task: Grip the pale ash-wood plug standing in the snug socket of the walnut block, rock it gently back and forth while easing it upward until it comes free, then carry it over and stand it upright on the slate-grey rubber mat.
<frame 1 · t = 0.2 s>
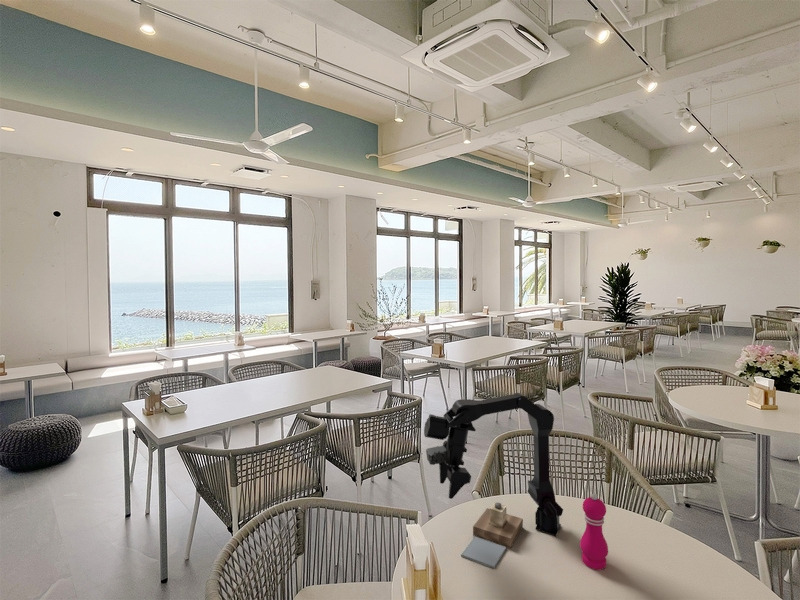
hand: (445, 490, 132), 15 cm above the table, tool pointing down, fingers open, 9 cm apart
pepper mill: (593, 563, 120), on the table
mat: (483, 552, 126), on the table
socket block: (498, 531, 136), on the table
plug: (498, 517, 135), in the socket block
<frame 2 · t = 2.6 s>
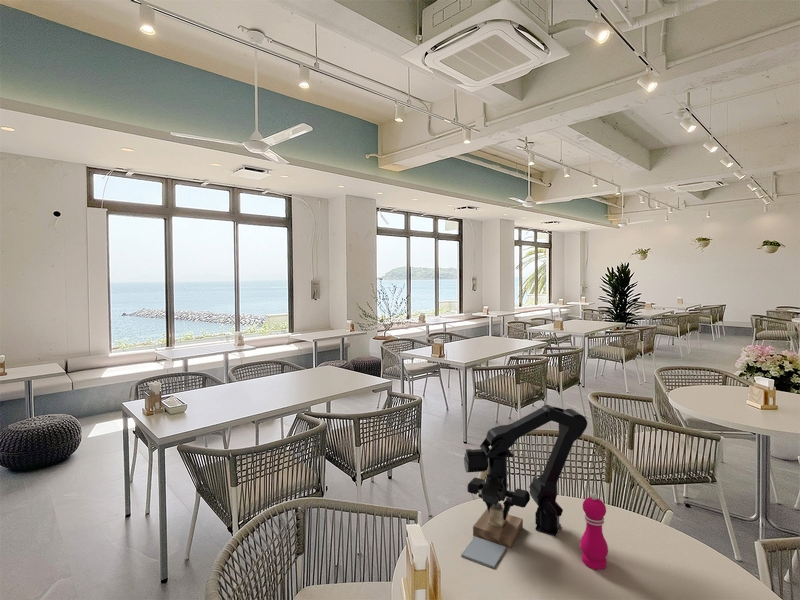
hand: (498, 517, 135), 5 cm above the table, tool pointing down, fingers closed on plug, 4 cm apart
plug: (498, 517, 135), in the socket block, touching gripper
everything else where it was.
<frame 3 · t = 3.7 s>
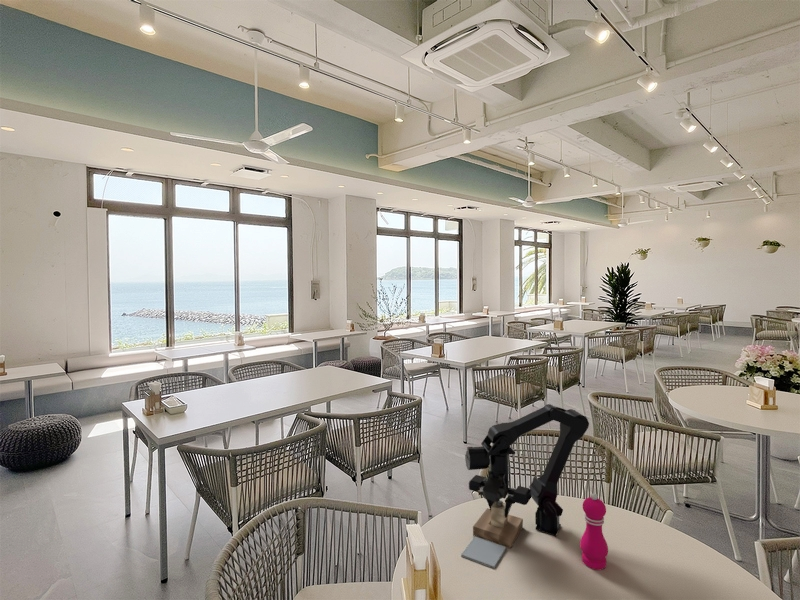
hand: (499, 515, 135), 6 cm above the table, tool pointing down, fingers closed on plug, 4 cm apart
plug: (499, 515, 135), in the socket block, point 5 cm above the table, touching gripper
everything else where it was.
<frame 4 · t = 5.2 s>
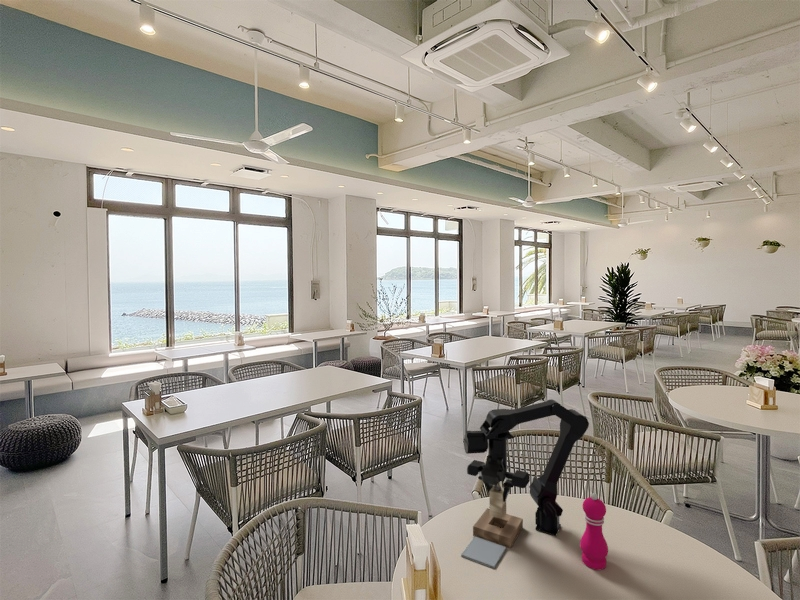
hand: (497, 499, 135), 10 cm above the table, tool pointing down, fingers closed on plug, 4 cm apart
plug: (497, 500, 135), point 10 cm above the table, touching gripper
everything else where it was.
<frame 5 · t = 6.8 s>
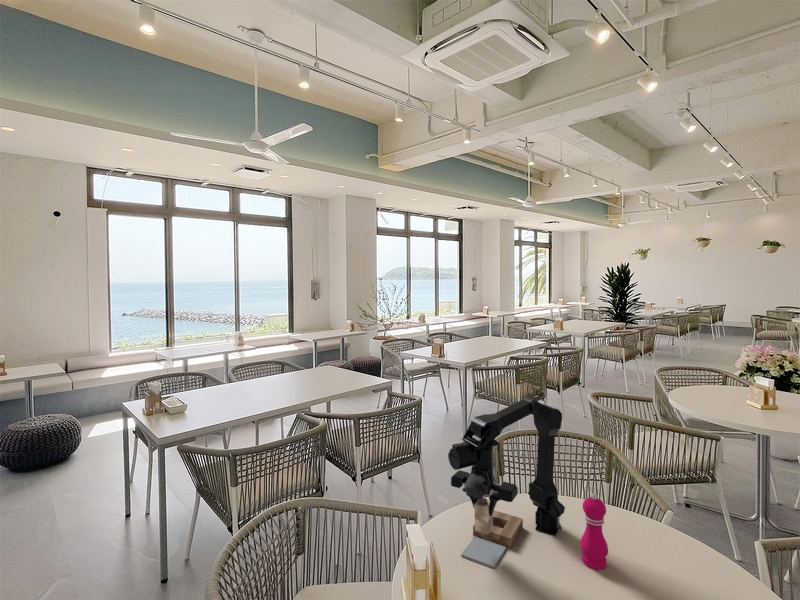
hand: (483, 513, 125), 12 cm above the table, tool pointing down, fingers closed on plug, 4 cm apart
plug: (483, 514, 125), point 12 cm above the table, touching gripper
everything else where it was.
when the fingers open (6 cm above the table, at t = 8.0 s): plug drops 1 cm, resting on mat.
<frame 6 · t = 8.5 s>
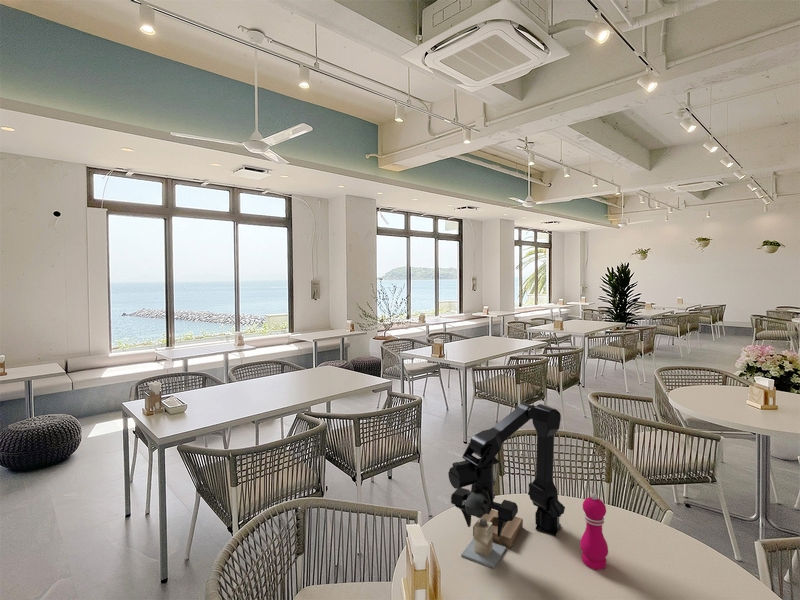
hand: (483, 531, 125), 6 cm above the table, tool pointing down, fingers open, 9 cm apart
plug: (483, 535, 125), on the mat, point 5 cm above the table
everything else where it was.
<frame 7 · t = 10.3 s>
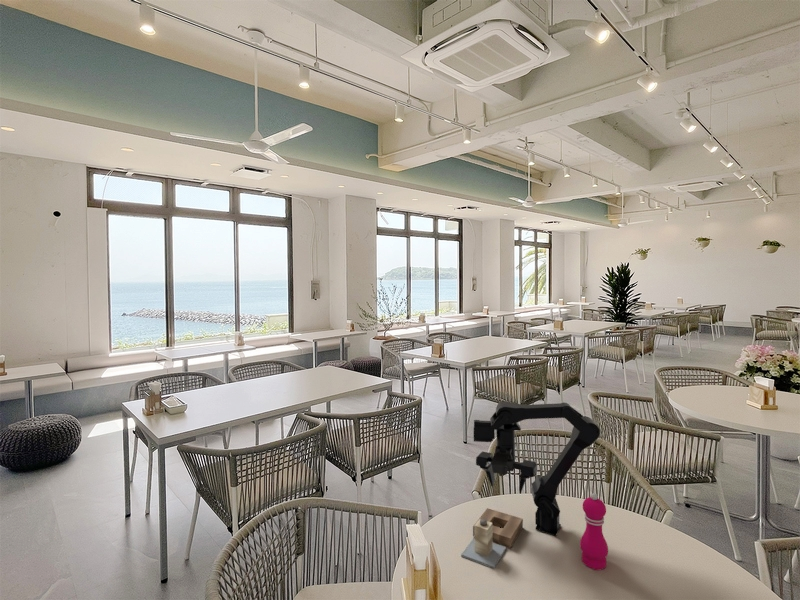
hand: (506, 489, 138), 12 cm above the table, tool pointing down, fingers open, 9 cm apart
nothing on the table moved.
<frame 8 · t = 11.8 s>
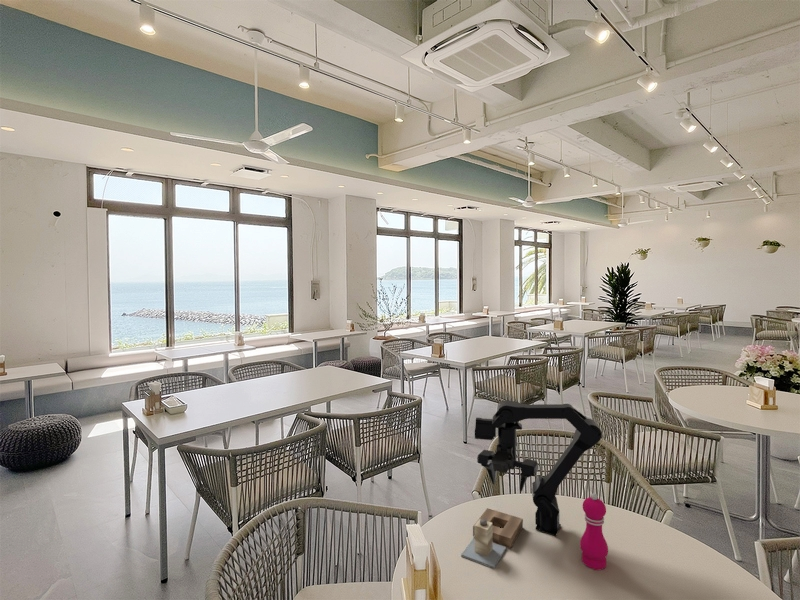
hand: (507, 487, 139), 12 cm above the table, tool pointing down, fingers open, 9 cm apart
nothing on the table moved.
at the end: plug inside the target area on the mat (0.1 cm from its centre), point 5.1 cm above the mat's base; plug tilted 0°; the gripper is holding nothing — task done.
